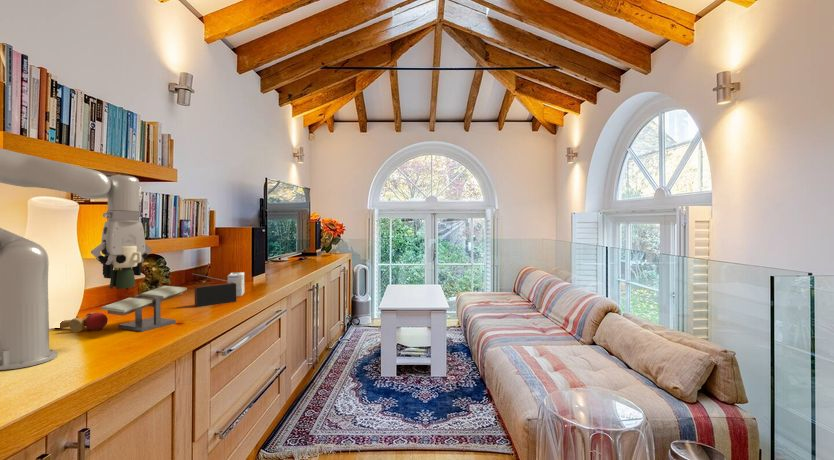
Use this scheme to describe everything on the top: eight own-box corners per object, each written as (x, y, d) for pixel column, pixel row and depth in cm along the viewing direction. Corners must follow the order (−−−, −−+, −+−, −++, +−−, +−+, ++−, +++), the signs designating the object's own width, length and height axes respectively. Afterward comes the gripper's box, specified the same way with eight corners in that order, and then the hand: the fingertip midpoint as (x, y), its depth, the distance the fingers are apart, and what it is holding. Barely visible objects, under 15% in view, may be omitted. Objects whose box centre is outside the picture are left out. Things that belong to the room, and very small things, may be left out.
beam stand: (141, 331, 130) (141, 300, 130) (118, 328, 134) (118, 298, 134) (175, 323, 141) (175, 294, 141) (153, 320, 146) (153, 292, 145)
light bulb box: (230, 293, 201) (230, 272, 200) (244, 292, 203) (244, 271, 202) (227, 297, 190) (227, 275, 190) (242, 296, 192) (242, 274, 192)
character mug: (94, 290, 113) (95, 246, 113) (114, 287, 120) (115, 245, 120) (131, 291, 113) (131, 246, 113) (148, 287, 120) (149, 245, 120)
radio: (233, 300, 181) (233, 268, 181) (236, 301, 179) (236, 269, 179) (189, 307, 168) (188, 272, 168) (191, 308, 166) (191, 273, 166)
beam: (126, 319, 126) (124, 310, 125) (103, 316, 130) (101, 307, 129) (188, 296, 146) (186, 287, 145) (166, 293, 150) (164, 285, 149)
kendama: (43, 336, 129) (93, 330, 128) (44, 317, 130) (93, 310, 129) (66, 334, 137) (113, 328, 135) (67, 316, 138) (114, 309, 136)
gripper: (98, 216, 107) (97, 280, 107) (160, 218, 123) (160, 274, 123) (81, 216, 110) (81, 279, 110) (144, 218, 126) (144, 273, 126)
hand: (122, 276), depth 117 cm, fingers closed on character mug, 7 cm apart
